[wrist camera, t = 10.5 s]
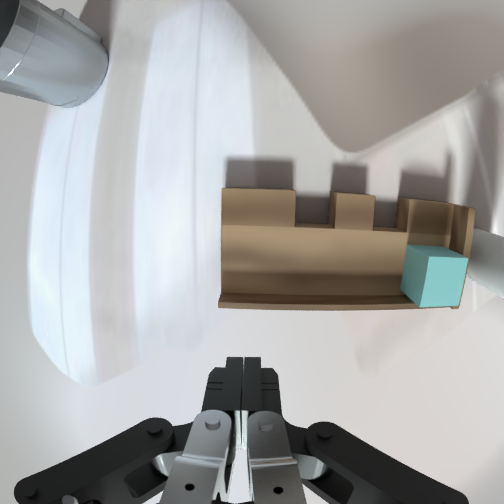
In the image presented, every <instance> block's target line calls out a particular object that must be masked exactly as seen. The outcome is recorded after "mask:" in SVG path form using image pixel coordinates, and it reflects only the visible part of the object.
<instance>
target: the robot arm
mask: <svg viewBox="0 0 504 504" xmlns="http://www.w3.org/2000/svg"><path fill="white" fill-rule="evenodd" d="M101 39H102V37H101V36H100V35H98V34H97V33H96V32H94V31H93V30H92V29H90V28H89V27H88V26H87V25H85V24H84V23H83V22H81V21H80V20H78V19H77V18H76V17H74V16H73V15H72V14H70V13H69V12H67V11H66V10H65V9H57V10H55V11H53V10H51V9H50V8H48V7H47V6H45V5H43V4H42V3H40V2H39V1H37V0H0V92H3V93H8V94H12V95H16V96H21V97H25V98H29V99H33V100H37V101H41V102H45V103H49V104H52V105H55V106H60V107H65V108H68V107H74V106H78V105H80V104H82V103H83V102H85V101H86V100H88V99H89V98H90V97H91V96H92V95H93V94H94V93H95V92H96V91H97V89H98V88H99V86H100V85H101V83H102V81H103V79H104V77H105V74H106V71H107V66H108V56H107V53H106V50H105V49H104V47H103V46H102V44H101ZM242 436H243V437H242ZM242 438H243V449H247V466H248V480H249V492H250V501H249V502H244V503H238V504H307V503H306V498H305V494H304V490H303V486H302V484H304V485H305V486H306V487H308V488H309V489H310V490H312V491H313V492H314V493H315V494H317V495H318V496H320V497H321V498H322V499H324V500H325V501H326V502H328V503H329V504H469V502H468V499H467V497H466V496H465V495H464V494H463V493H461V492H459V491H457V490H455V489H453V488H451V487H448V486H446V485H444V484H442V483H440V482H438V481H436V480H434V479H432V478H430V477H428V476H426V475H424V474H422V473H420V472H418V471H416V470H414V469H412V468H410V467H408V466H407V465H405V464H403V463H401V462H399V461H397V460H395V459H394V458H392V457H390V456H388V455H387V454H385V453H383V452H381V451H379V450H378V449H375V448H374V447H373V446H370V445H369V444H367V443H366V442H364V441H362V440H361V439H359V438H357V437H356V436H354V435H352V434H350V433H349V432H347V431H346V430H344V429H343V428H341V427H339V426H338V425H336V424H334V423H330V422H318V423H314V424H312V425H311V426H309V427H308V428H307V429H306V428H301V427H297V426H294V425H291V424H289V423H288V422H287V421H285V419H284V418H283V416H282V410H281V400H280V391H279V380H278V374H277V373H276V372H275V371H274V369H273V368H261V358H260V357H245V360H244V365H243V357H227V360H226V367H225V368H220V367H215V368H214V369H213V370H212V371H211V372H210V374H209V377H208V382H207V386H206V391H205V396H204V401H203V406H202V411H201V413H199V414H198V415H197V416H196V417H195V419H194V421H193V422H191V423H188V424H185V425H178V426H172V424H171V423H170V422H169V421H167V420H165V419H163V418H149V419H146V420H144V421H142V422H140V423H138V424H137V425H135V426H133V427H131V428H129V429H127V430H126V431H124V432H122V433H120V434H118V435H116V436H114V437H112V438H110V439H108V440H106V441H104V442H103V443H101V444H99V445H97V446H95V447H93V448H91V449H88V450H87V451H84V452H82V453H80V454H78V455H76V456H74V457H72V458H70V459H68V460H65V461H63V462H61V463H59V464H57V465H54V466H52V467H50V468H48V469H45V470H43V471H41V472H38V473H36V474H34V475H31V476H29V477H26V478H24V479H22V480H20V481H19V482H18V483H17V484H16V486H15V488H14V496H15V499H16V501H17V502H18V503H19V504H142V503H144V502H146V501H147V500H149V499H150V498H152V497H153V496H155V495H157V494H158V493H160V492H161V491H163V490H164V491H163V494H162V497H161V500H160V502H159V503H157V504H232V503H228V496H229V490H230V484H231V479H232V473H233V467H234V459H235V451H236V449H241V442H242Z"/></svg>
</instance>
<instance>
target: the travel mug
mask: <svg viewBox="0 0 504 504" xmlns="http://www.w3.org/2000/svg"><path fill="white" fill-rule="evenodd" d="M466 277H468V278H470V279H472V280H473V281H475V282H477V283H478V284H480V285H482V286H483V287H485V288H487V289H488V290H490V291H492V292H493V293H495V294H496V295H498V296H500V297H501V298H503V299H504V237H502V236H499V235H496V234H493V233H490V232H487V231H483V230H481V229H478V228H474V229H473V237H472V244H471V250H470V257H469V262H468V268H467V273H466Z"/></svg>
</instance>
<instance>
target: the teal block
mask: <svg viewBox="0 0 504 504" xmlns="http://www.w3.org/2000/svg"><path fill="white" fill-rule="evenodd" d="M467 263H468V258H467V257H465V256H463V255H461V254H459V253H457V252H454V251H452V250H450V249H448V248H446V247H443V246H425V245H407V247H406V254H405V261H404V268H403V274H402V280H401V286H400V290H401V291H402V292H403V293H404V294H406V295H407V296H408V297H409V298H410V299H411V300H412V301H413V302H414V303H415V304H417V305H418V306H419V307H442V306H458V305H459V301H460V297H461V292H462V288H463V283H464V278H465V273H466V268H467Z"/></svg>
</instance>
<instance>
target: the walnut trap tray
mask: <svg viewBox="0 0 504 504" xmlns="http://www.w3.org/2000/svg"><path fill="white" fill-rule="evenodd" d="M295 204H296V191H295V190H293V189H271V188H232V187H225V188H222V211H221V295H220V298H219V301H218V308H234V309H262V310H326V311H327V310H329V311H330V310H331V311H334V310H396V309H423V308H443V307H450V308H452V309H458V308H459V306H460V301H461V297H462V293H463V288H464V283H465V278H466V273H467V268H468V263H467V268H466V273H465V278H464V283H463V288H462V292H461V297H460V301H459V305H458V306H442V307H419V306H418V305H417V304H415V303H414V302H413V301H412V300H411V299H410V298H409V297H408V296H407V295H406V294H404V293H403V292H402V291H401V290H400V286H401V280H402V274H403V268H404V261H405V254H406V247H407V245H425V246H443V247H446V248H448V249H450V250H452V251H454V252H457V253H459V254H461V255H463V256H465V257H467V258H468V262H469V257H470V250H471V244H472V237H473V229H474V220H475V211H476V209H475V208H470V207H466V206H461V205H456V204H452V203H447V202H439V201H431V200H422V199H413V198H403V197H398V204H397V216H396V227H395V228H390V227H373V219H374V206H375V196H373V195H368V194H359V193H346V192H331V191H330V206H329V222H328V224H313V223H295Z"/></svg>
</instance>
